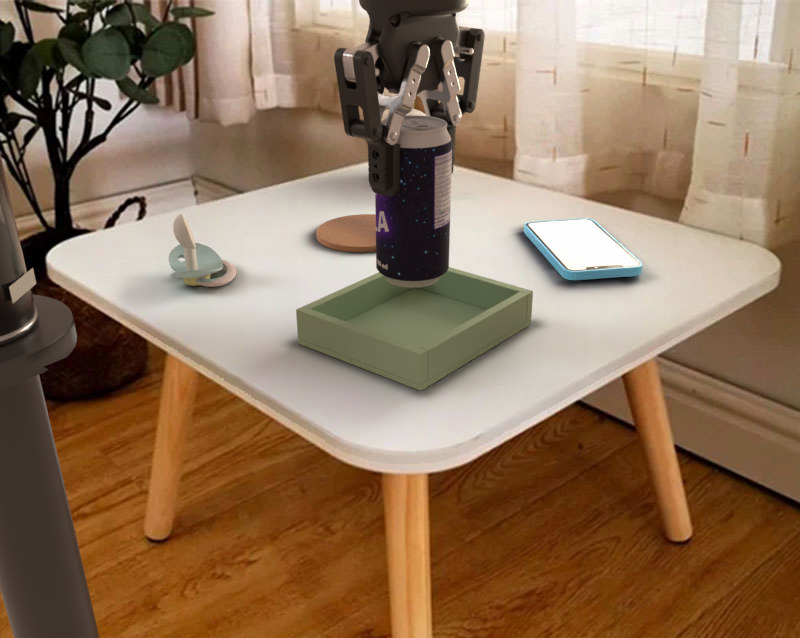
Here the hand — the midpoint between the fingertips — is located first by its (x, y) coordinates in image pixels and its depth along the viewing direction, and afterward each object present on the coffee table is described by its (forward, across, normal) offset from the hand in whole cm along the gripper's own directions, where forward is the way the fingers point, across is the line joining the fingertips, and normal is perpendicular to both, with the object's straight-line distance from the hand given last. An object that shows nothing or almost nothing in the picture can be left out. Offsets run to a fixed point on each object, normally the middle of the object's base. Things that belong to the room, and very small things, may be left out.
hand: (412, 183), depth 70 cm
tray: (+13, 0, 0) cm, 13 cm away
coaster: (+13, -15, -19) cm, 27 cm away
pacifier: (+13, +3, -23) cm, 26 cm away
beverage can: (+8, 0, 0) cm, 8 cm away
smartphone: (+12, -24, +1) cm, 27 cm away
